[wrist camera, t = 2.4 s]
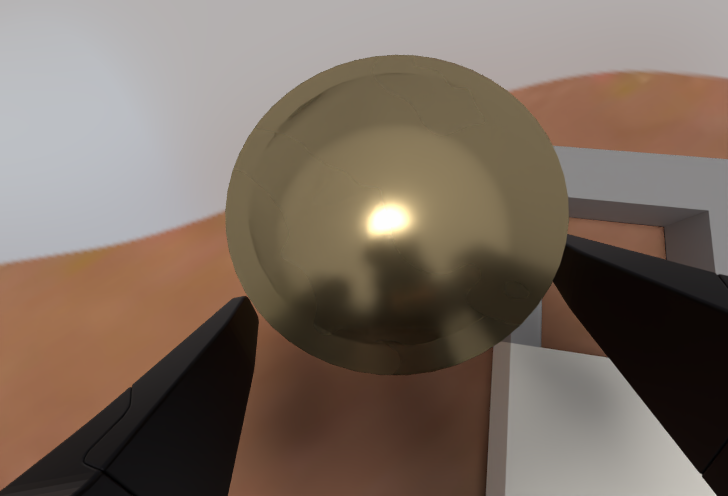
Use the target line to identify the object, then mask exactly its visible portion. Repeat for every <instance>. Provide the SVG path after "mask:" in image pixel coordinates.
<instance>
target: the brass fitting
mask: <svg viewBox="0 0 728 496" xmlns="http://www.w3.org/2000/svg"><path fill="white" fill-rule="evenodd" d="M225 213H226V235H227V241H228V247H229V252H230V255H231V259H232V262H233V265H234V268H235V272H236V274H237V276H238V278H239V280H240V282H241V284H242V286H243V289H244V291H245V292H246V294H247V295H248V297H249V298H250V300H251V301H252V303H253V304H254V306H255V307H256V309H257V310H258V311H259V312H260V314H261V315H262V316H263V317H264V318H265V319H266V320H267V322H268V323H269V324H270V325H271V326H272V327H273V328H274V329H275V330H277V331H278V332H279V333H280V334H281V335H282V336H284V337H285V338H286V339H287V340H288V341H290V342H291V343H293V344H294V345H296V346H297V347H299V348H301V349H302V350H304V351H305V352H307V353H308V354H310V355H312V356H315V357H317V358H319V359H321V360H324V361H326V362H328V363H330V364H333V365H336V366H339V367H343V368H346V369H350V370H353V371H357V372H364V373H371V374H378V375H411V374H419V373H426V372H433V371H436V370H440V369H444V368H447V367H451V366H454V365H457V364H460V363H462V362H464V361H467V360H469V359H471V358H473V357H476V356H478V355H480V354H482V353H483V352H485V351H487V350H488V349H490V348H491V347H493V346H495V345H496V344H498V343H499V342H501V341H502V340H504V339H505V338H506V337H507V336H508V335H510V334H511V333H512V332H513V331H514V330H515V329H517V328H518V327H519V326H520V325H521V324H522V323H523V322H524V321H525V320H526V319H527V317H528V316H529V315H530V314H531V313H532V312H533V311H534V309H535V308H536V307H537V306H538V304H539V303H540V301H541V300H542V298H543V297H544V295H545V293H546V292H547V290H548V289H549V287H550V286H551V283H552V281H553V279H554V277H555V274H556V272H557V270H558V268H559V266H560V262H561V259H562V255H563V252H564V248H565V245H566V239H567V231H568V223H569V208H568V194H567V188H566V183H565V177H564V174H563V171H562V168H561V165H560V162H559V159H558V156H557V154H556V152H555V150H554V148H553V146H552V144H551V142H550V140H549V137H548V136H547V134H546V133H545V131H544V130H543V129H542V127H541V126H540V124H539V123H538V121H537V120H536V119H535V117H534V116H533V115H532V114H531V113H530V112H529V111H528V110H527V108H526V107H525V106H524V105H523V104H522V103H521V102H520V101H518V100H517V99H516V98H515V97H514V96H513V95H512V94H510V93H509V92H508V91H507V90H505V89H504V88H502V87H501V86H499V85H498V84H496V83H495V82H493V81H492V80H490V79H488V78H487V77H485V76H483V75H480V74H479V73H477V72H475V71H473V70H471V69H468V68H465V67H463V66H460V65H457V64H455V63H451V62H447V61H443V60H439V59H435V58H429V57H421V56H414V55H387V56H375V57H370V58H365V59H359V60H354V61H352V62H348V63H344V64H341V65H338V66H335V67H333V68H331V69H328V70H326V71H323V72H321V73H319V74H317V75H315V76H313V77H312V78H310V79H308V80H306V81H305V82H303V83H301V84H300V85H298V86H297V87H296V88H294V89H293V90H291V91H290V92H289V93H287V94H286V95H285V96H284V97H283V98H282V99H280V100H279V101H278V102H277V103H276V104H275V105H274V106H272V107H271V109H270V110H269V111H268V112H267V113H266V114H265V115H264V116H263V118H262V119H261V120H260V121H259V122H258V124H257V125H256V127H255V128H254V129H253V131H252V132H251V134H250V135H249V137H248V138H247V140H246V142H245V144H244V146H243V148H242V150H241V152H240V153H239V156H238V159H237V161H236V164H235V166H234V169H233V172H232V176H231V180H230V183H229V188H228V193H227V201H226V210H225Z"/></svg>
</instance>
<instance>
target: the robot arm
mask: <svg viewBox="0 0 728 496" xmlns="http://www.w3.org/2000/svg"><path fill="white" fill-rule="evenodd" d="M553 282H554V284H555V286H556V287H557V289H558V290H559V292H560V294H561V295H562V297H563V299H564V300H565V302H566V303H567V305H568V306H569V308H570V309H571V310H572V312H573V313H574V314H575V316H576V317H577V318H578V320H579V321H580V322H581V323H582V325H583V326H584V327H585V328H586V330H587V331H588V332H589V334H590V335H591V336H592V337H593V339H594V340H595V341H596V342H597V344H598V345H599V346H600V347H601V349H602V350H603V351H604V353H605V354H606V355H607V356H608V358H609V359H610V360H611V361H612V363H613V364H614V365H615V367H616V368H617V369H618V370H619V372H620V373H621V374H622V375H623V377H624V378H625V379H626V381H627V382H628V383H629V384H630V386H631V387H632V388H633V389H634V391H635V392H636V393H637V395H638V396H639V397H640V398H641V400H642V401H643V402H644V403H645V405H646V406H647V407H648V409H649V410H650V411H651V412H652V414H653V415H654V416H655V417H656V419H657V420H658V421H659V423H660V424H661V425H662V426H663V428H664V429H665V430H666V431H667V433H668V434H669V435H670V437H671V438H672V439H673V440H674V442H675V443H676V444H677V445H678V447H679V448H680V449H681V450H682V452H683V453H684V454H685V456H686V457H687V458H688V459H689V461H690V462H691V463H692V464H693V466H694V467H695V468H696V470H697V471H698V472H699V473H700V474H702V478H703V479H704V480H705V481H706V483H707V484H708V485H709V487H710V488H711V489H712V490H713V492H714V493H715V494H716V495H717V496H728V276H726V275H723V274H718V275H717V274H716V273H715V272H711V271H707V270H703V269H699V268H696V267H692V266H688V265H684V264H680V263H676V262H673V261H669V260H665V259H661V258H657V257H653V256H650V255H646V254H642V253H638V252H634V251H630V250H627V249H623V248H619V247H615V246H611V245H608V244H604V243H600V242H596V241H592V240H588V239H585V238H581V237H577V236H573V235H569V234H567V239H566V245H565V248H564V252H563V255H562V259H561V262H560V266H559V268H558V270H557V272H556V274H555V277H554V279H553ZM258 324H259V320H258V316H257V314H256V312H255V310H254V308H253V306H252V304H251V302H250V300H249V298H248V297H246V296H242V297H237V298H233V299H231V300H230V301H229V302H228V303H227V304H226V305H224V306H223V307H222V308H221V309H220V310H219V311H217V312H216V313H215V314H214V315H213V316H212V317H211V318H209V319H208V320H207V321H206V322H205V323H204V324H202V325H201V326H200V327H199V328H198V329H197V330H195V331H194V332H193V333H192V334H191V335H190V336H188V337H187V338H186V339H185V340H184V341H183V342H182V343H180V344H179V345H178V346H177V347H176V348H175V349H173V350H172V351H171V352H170V353H169V354H168V355H166V356H165V357H164V358H163V359H162V360H161V361H159V362H158V363H157V364H156V365H155V366H154V367H153V368H151V369H150V370H149V371H148V372H147V373H146V374H144V375H143V376H142V377H141V378H140V379H139V380H137V381H136V382H135V383H134V384H133V385H132V387H129V388H128V389H127V390H126V391H125V392H123V393H122V394H121V395H120V396H119V397H118V398H117V399H115V400H114V401H113V402H112V403H111V404H109V405H108V406H107V407H106V408H105V409H103V410H102V411H101V412H100V413H99V414H97V415H96V416H95V417H94V418H93V419H91V420H90V421H89V422H88V423H86V424H85V425H84V426H83V427H81V428H80V429H79V430H78V431H76V432H75V433H74V434H73V435H71V436H70V437H69V438H68V439H66V440H65V441H64V442H62V443H61V444H60V445H59V446H57V447H56V448H55V449H53V450H52V451H51V452H50V453H48V454H47V455H46V456H45V457H43V458H42V459H41V460H39V461H38V462H37V463H36V464H34V465H33V466H32V467H31V468H29V469H28V470H27V471H25V472H24V473H23V474H22V475H20V476H19V477H18V478H16V479H15V480H14V481H13V482H11V483H10V484H9V485H8V486H6V487H5V488H4V489H2V490H1V491H0V496H228V492H229V487H230V483H231V478H232V473H233V468H234V463H235V459H236V454H237V449H238V444H239V440H240V435H241V430H242V425H243V421H244V416H245V411H246V406H247V401H248V397H249V392H250V387H251V382H252V378H253V372H254V366H255V357H256V346H257V335H258Z"/></svg>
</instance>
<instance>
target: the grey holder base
mask: <svg viewBox="0 0 728 496" xmlns="http://www.w3.org/2000/svg"><path fill="white" fill-rule="evenodd" d="M553 148H554V150H555V152H556V154H557V156H558V159H559V162H560V165H561V168H562V171H563V174H564V177H565V183H566V188H567V194H568V208H569V217H574V218H584V219H593V220H603V221H613V222H623V223H632V224H642V225H652V226H662V227H664V231H665V244H666V256H667V260H669V261H673V262H676V263H680V264H684V265H688V266H692V267H696V268H699V269H703V270H707V271H711V272H715V273H716V274H717V275H718V274H723V275H726V276H728V159H717V158H704V157H691V156H678V155H665V154H652V153H639V152H626V151H613V150H600V149H587V148H574V147H561V146H553ZM541 324H542V300H541V301H540V303H539V304H538V306H537V307H536V308H535V309H534V311H533V312H532V313H531V314H530V315H529V316H528V317H527V319H526V320H525V321H524V322H523V323H522V324H521V325H520V326H519V327H518V328H517V329H515V330H514V331H513V332H512V333H511V334H510V335H508V336H507V337H506V338H505V339H504V340H502V341H501V342H499V343H498V344H496V345H495V346H493V363H492V383H491V403H490V423H489V443H488V463H487V483H486V496H717V495H716V494H715V493H714V492H713V490H712V489H711V488H710V487H709V485H708V484H707V483H706V481H705V480H704V479H703V478H702V474H700V473H699V472H698V471H697V470H696V468H695V467H694V466H693V464H692V463H691V462H690V461H689V459H688V458H687V457H686V456H685V454H684V453H683V452H682V450H681V449H680V448H679V447H678V445H677V444H676V443H675V442H674V440H673V439H672V438H671V437H670V435H669V434H668V433H667V431H666V430H665V429H664V428H663V426H662V425H661V424H660V423H659V421H658V420H657V419H656V417H655V416H654V415H653V414H652V412H651V411H650V410H649V409H648V407H647V406H646V405H645V403H644V402H643V401H642V400H641V398H640V397H639V396H638V395H637V393H636V392H635V391H634V389H633V388H632V387H631V386H630V384H629V383H628V382H627V381H626V379H625V378H624V377H623V375H622V374H621V373H620V372H619V370H618V369H617V368H616V367H615V365H614V364H613V363H612V361H611V360H610V359H609V358H607V357H601V356H594V355H587V354H581V353H574V352H567V351H561V350H554V349H548V348H541Z"/></svg>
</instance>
